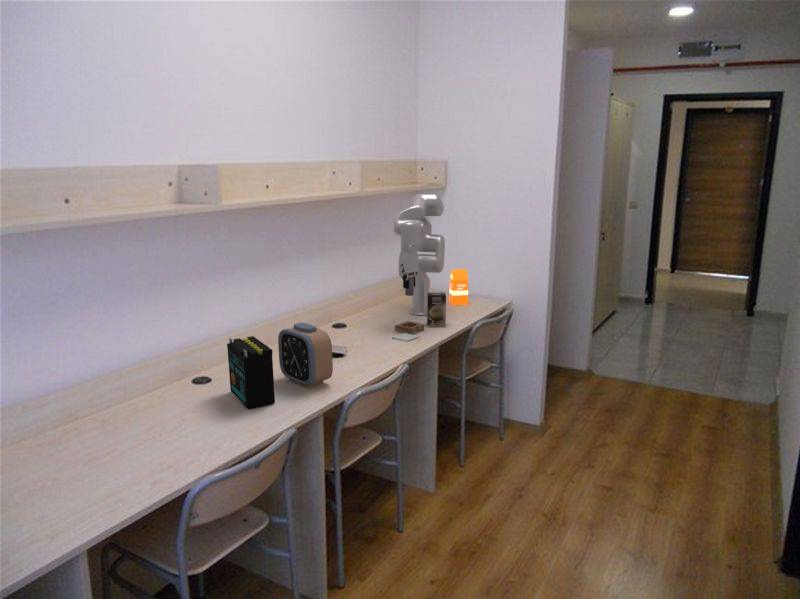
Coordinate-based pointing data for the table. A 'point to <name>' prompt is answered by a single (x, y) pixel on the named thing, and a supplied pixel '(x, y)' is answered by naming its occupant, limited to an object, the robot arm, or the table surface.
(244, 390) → the battery
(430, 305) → the coffee box
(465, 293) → the orange juice
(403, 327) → the socket block
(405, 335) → the mat
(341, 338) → the table surface
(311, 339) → the alarm clock
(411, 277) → the plug
